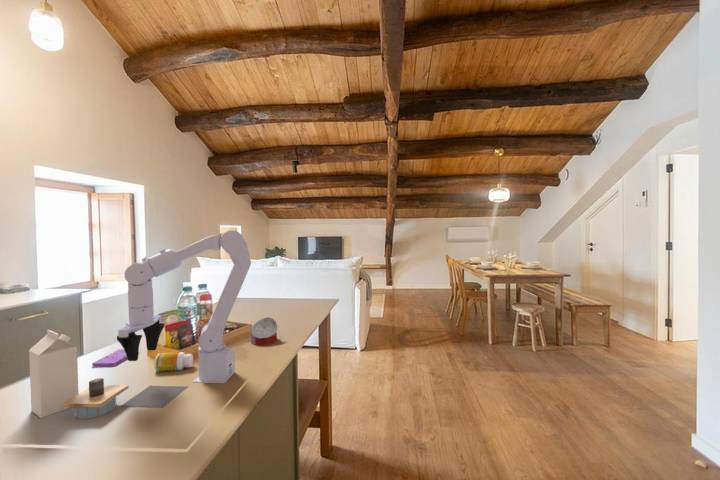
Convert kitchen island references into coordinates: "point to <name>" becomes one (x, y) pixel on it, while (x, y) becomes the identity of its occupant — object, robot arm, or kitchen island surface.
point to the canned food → (264, 332)
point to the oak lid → (95, 394)
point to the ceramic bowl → (95, 410)
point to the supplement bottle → (172, 361)
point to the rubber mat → (155, 396)
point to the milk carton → (52, 373)
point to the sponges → (111, 359)
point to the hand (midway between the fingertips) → (142, 355)
